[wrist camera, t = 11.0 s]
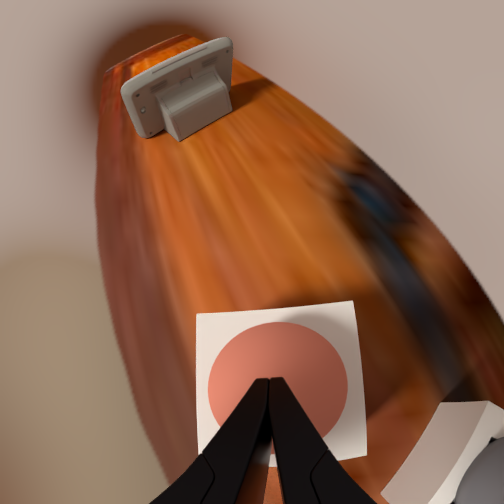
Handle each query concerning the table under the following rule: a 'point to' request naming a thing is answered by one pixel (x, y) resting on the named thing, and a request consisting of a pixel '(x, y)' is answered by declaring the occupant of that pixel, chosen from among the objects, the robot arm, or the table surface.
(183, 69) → the digital clock
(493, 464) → the plug
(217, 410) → the red plug
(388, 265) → the table surface
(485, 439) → the socket
